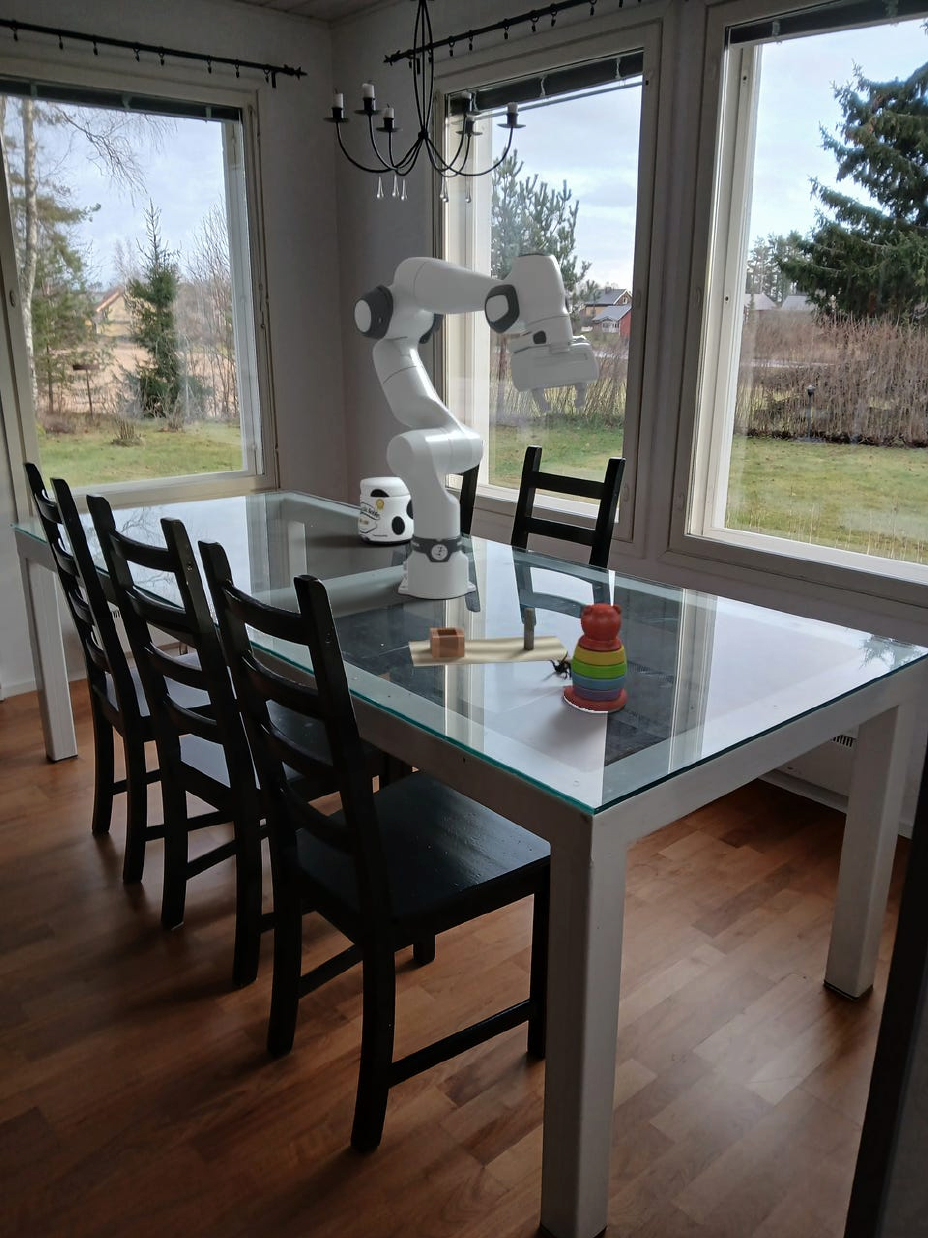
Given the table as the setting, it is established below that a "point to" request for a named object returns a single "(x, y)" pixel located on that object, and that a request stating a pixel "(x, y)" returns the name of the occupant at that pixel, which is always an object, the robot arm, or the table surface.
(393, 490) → the milk container
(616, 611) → the stacking bear
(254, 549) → the table surface
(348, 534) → the table surface
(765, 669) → the table surface
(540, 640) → the board
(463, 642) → the bead
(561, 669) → the creature
